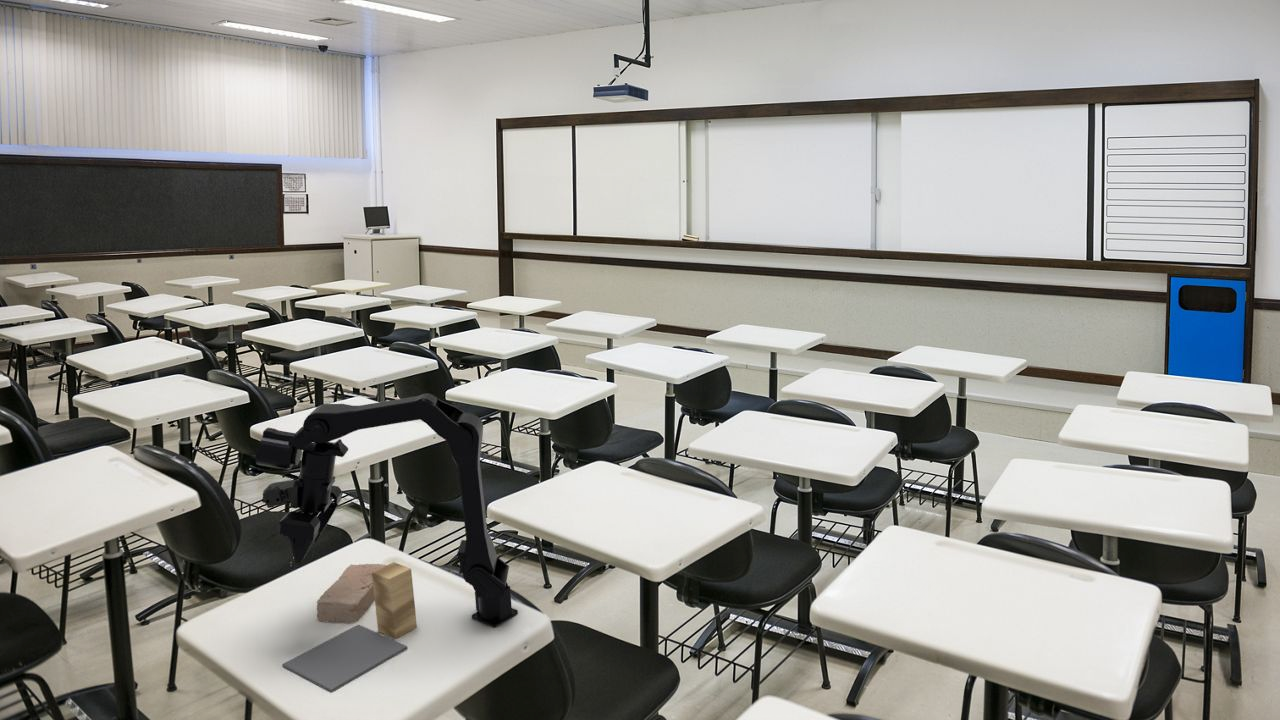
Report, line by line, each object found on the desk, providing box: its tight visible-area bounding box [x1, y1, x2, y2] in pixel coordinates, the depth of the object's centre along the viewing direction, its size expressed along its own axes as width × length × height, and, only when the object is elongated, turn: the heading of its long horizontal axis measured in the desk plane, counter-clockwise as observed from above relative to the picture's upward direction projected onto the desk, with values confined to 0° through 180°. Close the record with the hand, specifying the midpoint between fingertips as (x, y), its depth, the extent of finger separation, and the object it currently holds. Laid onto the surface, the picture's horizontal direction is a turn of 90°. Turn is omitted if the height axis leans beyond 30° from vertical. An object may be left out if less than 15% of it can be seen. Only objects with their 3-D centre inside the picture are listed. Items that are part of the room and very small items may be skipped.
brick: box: [316, 563, 387, 624], centre depth 181 cm, size 16×8×5 cm, turn 173°
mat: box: [281, 623, 408, 693], centre depth 161 cm, size 14×16×1 cm
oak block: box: [372, 561, 418, 640], centre depth 169 cm, size 5×5×12 cm
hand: (305, 551), depth 168 cm, fingers open, 9 cm apart
